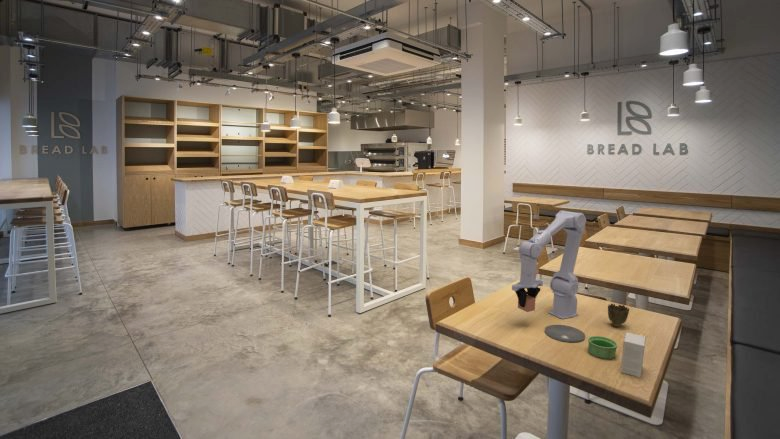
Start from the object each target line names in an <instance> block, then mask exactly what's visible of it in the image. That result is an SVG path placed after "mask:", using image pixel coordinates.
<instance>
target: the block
mask: <svg viewBox="0 0 780 439" xmlns="http://www.w3.org/2000/svg"><path fill="white" fill-rule="evenodd" d="M517 308H518V309H520V310H522V311H524V312H526V313H530V312H535V311H536V299H535V298H534V297H531V296H529V295H527V297H526V303H525V307H521V306H520V305H519V300H518V299H517Z"/></svg>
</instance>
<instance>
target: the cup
mask: <svg viewBox="0 0 780 439" xmlns="http://www.w3.org/2000/svg"><path fill="white" fill-rule="evenodd" d="M629 313H630V308H628V306H627V307H626V305H625V304H624V305H623V304H618V305H616V304H615V303H610V304H608V305H607V317H608V319H609V321H610V322H611V325H612V326H613V327H614V328H621V327H623V324H625V323H626V322H627V320H628V317H629Z"/></svg>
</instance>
